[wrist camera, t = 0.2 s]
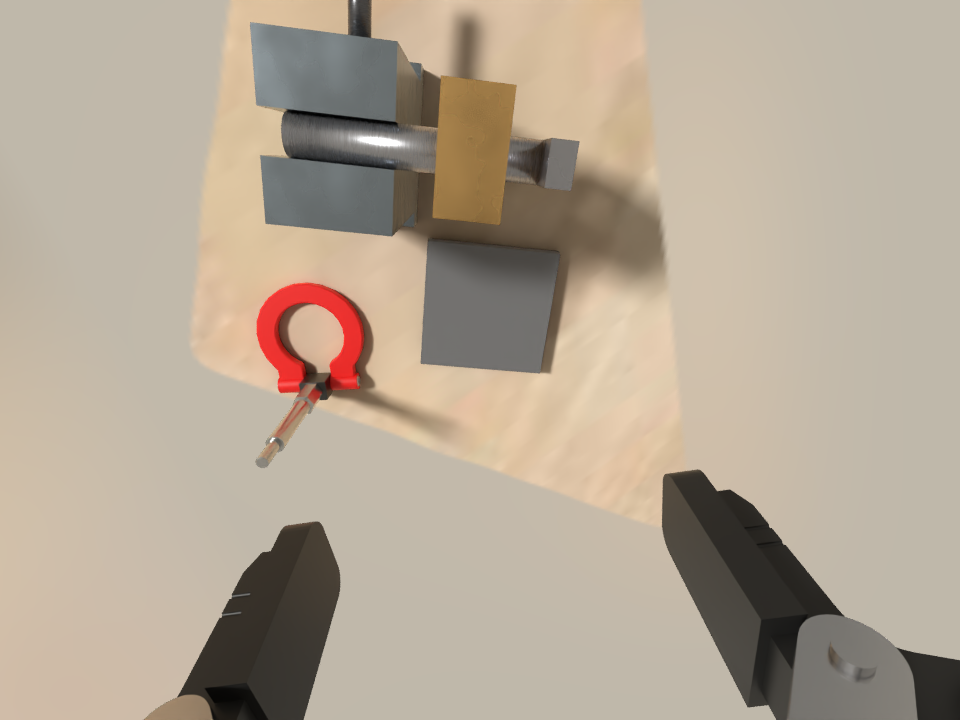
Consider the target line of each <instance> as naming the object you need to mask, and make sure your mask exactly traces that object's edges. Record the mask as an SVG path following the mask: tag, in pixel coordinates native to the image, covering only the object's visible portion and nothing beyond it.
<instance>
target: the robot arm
mask: <svg viewBox="0 0 960 720" xmlns="http://www.w3.org/2000/svg"><path fill="white" fill-rule="evenodd" d="M662 528H663V534H664V538H665V542H666V545H667V548H668V551H669V553H670V555H671V557H672V559H673V561H674V563H675V565H676V567H677V569H678V570H679V573H680V575H681V577H682V579H683V581H684V583H685V584H686V587H687V589H688V591H689V592H690V595H691V596H692V598H693V600H694V602H695V604H696V606H697V608H698V610H699V612H700V614H701V616H702V618H703V620H704V622H705V624H706V626H707V628H708V630H709V632H710V634H711V636H712V638H713V640H714V642H715V644H716V646H717V648H718V650H719V652H720V654H721V655H722V658H723V659H724V661H725V663H726V665H727V667H728V669H729V671H730V673H731V675H732V677H733V679H734V681H735V683H736V685H737V687H738V689H739V691H740V693H741V695H742V697H743V699H744V701H745V703H746V705H747V707H755V706H764V705H769V707H770V709H771V711H772V712H773V714H774V716H775V718H776V720H960V660H955V659H948V658H943V657H937V656H932V655H926V654H920V653H914V652H910V651H906V650H902V649H899V648H896V647H895V646H894V645H893V644H892V643H891V642H890V641H888V640H887V639H886V638H885V637H883V636H882V635H881V634H880V633H878V632H876V631H875V630H873V629H872V628H870V627H868V626H866V625H864V624H862V623H860V622H858V621H855V620H853V619H850V618H847V617H844V615H843V614H842V613H841V612H840V611H839V610H838V609H837V608H836V606H835V605H834V604H833V603H832V602H831V600H830V599H829V598H828V597H827V595H826V594H825V593H824V592H823V591H822V589H821V588H820V587H819V585H818V584H817V583H816V582H815V581H814V579H813V578H812V577H811V576H810V574H809V573H808V572H807V571H806V569H805V568H804V567H803V566H802V565H801V563H800V562H799V561H798V560H797V558H796V557H795V556H794V555H793V554H792V552H791V551H790V550H789V549H788V547H787V546H786V545H783V543H782V540H781V539H780V538H779V536H778V535H777V534H776V533H775V532H774V530H773V529H772V528H769V524H768V523H767V522H766V520H765V519H764V518H763V517H762V515H761V514H760V513H759V512H758V510H757V509H756V508H755V507H754V506H753V505H752V504H751V503H749V502H748V501H746V500H745V499H743V498H742V497H740V496H739V495H737V494H736V493H734V492H733V491H731V490H723V491H716V489H715V488H714V486H713V485H712V484H711V483H710V481H709V480H708V478H707V477H706V476H705V474H704V473H703V472H702V471H700V470H692V471H684V472H677V473H670V474H665V475H664V477H663V503H662ZM339 592H340V572H339V567H338V565H337V562H336V560H335V557H334V554H333V552H332V549H331V547H330V544H329V541H328V539H327V536H326V534H325V531H324V528H323V526H322V525H321V523H320V522H309V523H302V524H296V525H288V526H285V527H284V528H283V529H282V530H281V532H280V534H279V536H278V538H277V540H276V542H275V544H274V546H273V548H272V550H271V551H269V552H263V553H261V554H260V555H259V557H258V558H257V559H256V560H255V561H254V562H253V563H252V564H251V565H250V566H249V567H248V568H247V569H246V571H244V573H243V575H242V576H241V578H240V580H239V582H238V584H237V586H236V588H235V590H234V591H233V593H232V599H229V601H228V603H227V605H226V607H225V609H224V611H223V612H222V618H219V620H218V622H217V624H216V626H215V627H214V629H213V631H212V633H211V635H210V637H209V639H208V641H207V643H206V645H205V647H204V648H203V650H202V652H201V654H200V656H199V658H198V660H197V662H196V664H195V666H194V667H193V669H192V671H191V673H190V675H189V677H188V679H187V681H186V682H185V684H184V686H183V688H182V690H181V692H180V693H179V695H178V697H177V698H175V699H172V700H170V701H168V702H166V703H165V704H163V705H161V706H160V707H158V708H157V709H156V710H154V711H153V712H152V713H150V714H149V715H148V716H147V717H146V718H145V719H144V720H304V716H305V712H306V709H307V705H308V702H309V699H310V695H311V691H312V688H313V684H314V681H315V677H316V674H317V670H318V667H319V663H320V660H321V656H322V653H323V649H324V646H325V642H326V639H327V635H328V632H329V628H330V625H331V621H332V617H333V614H334V611H335V607H336V604H337V600H338V597H339Z"/></svg>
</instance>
